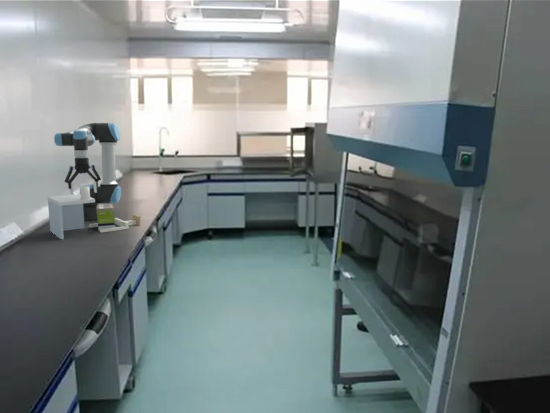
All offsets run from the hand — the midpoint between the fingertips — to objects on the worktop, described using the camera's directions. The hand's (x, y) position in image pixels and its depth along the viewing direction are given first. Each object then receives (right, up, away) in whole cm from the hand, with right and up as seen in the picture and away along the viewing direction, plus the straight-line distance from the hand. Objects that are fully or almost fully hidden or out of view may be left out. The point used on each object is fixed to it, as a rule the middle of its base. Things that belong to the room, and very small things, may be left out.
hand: (83, 193), depth 300 cm
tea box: (+8, -22, +16) cm, 29 cm away
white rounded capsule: (+2, -3, -2) cm, 4 cm away
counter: (-8, -24, +4) cm, 25 cm away
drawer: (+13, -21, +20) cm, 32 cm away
